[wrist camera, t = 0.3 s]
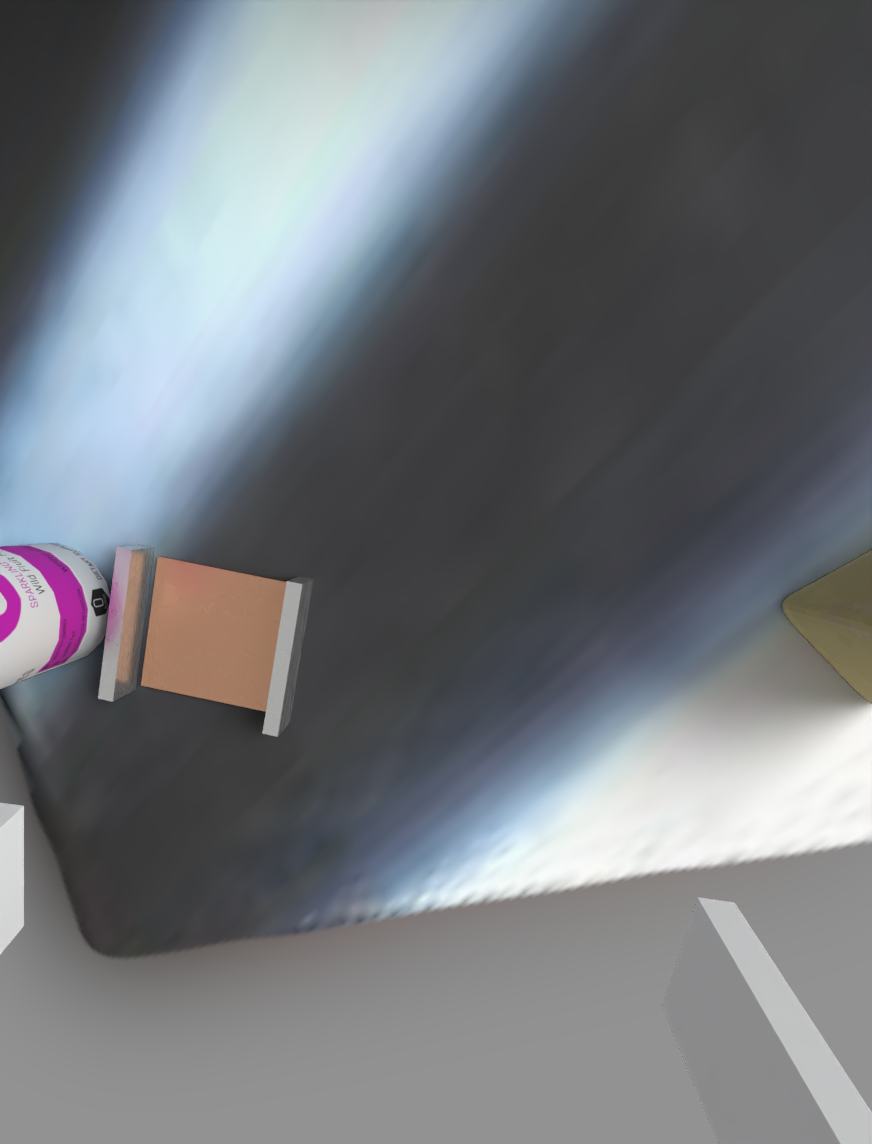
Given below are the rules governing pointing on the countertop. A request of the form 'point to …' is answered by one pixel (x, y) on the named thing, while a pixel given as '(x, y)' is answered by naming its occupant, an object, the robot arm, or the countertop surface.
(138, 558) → the rack with upright dividers
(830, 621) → the cheese
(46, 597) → the sparkling water can
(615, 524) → the countertop surface
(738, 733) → the countertop surface
